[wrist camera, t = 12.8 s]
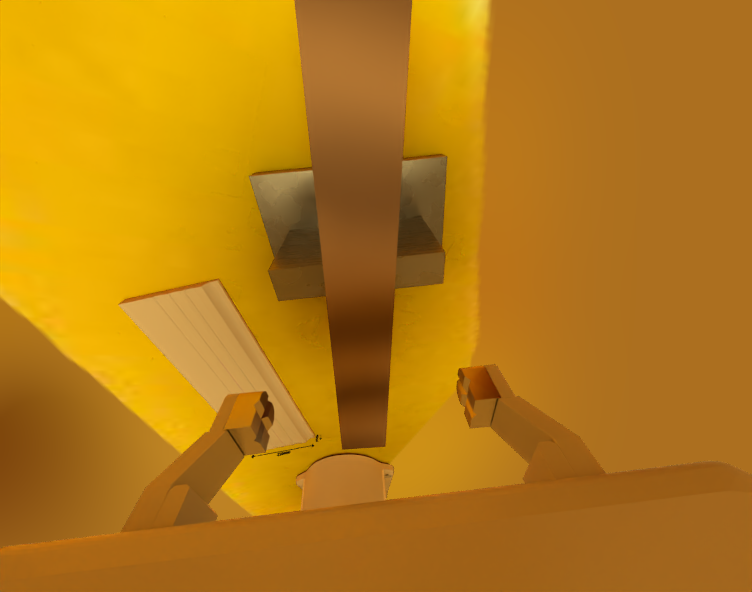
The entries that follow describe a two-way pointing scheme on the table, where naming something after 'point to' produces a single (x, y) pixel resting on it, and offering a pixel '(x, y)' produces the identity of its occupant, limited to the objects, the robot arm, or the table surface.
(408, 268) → the ridge stand
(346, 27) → the walnut beam
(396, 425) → the table surface
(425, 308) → the table surface
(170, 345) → the baseboard molding
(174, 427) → the table surface
